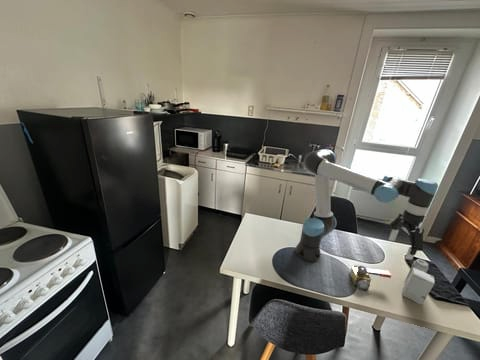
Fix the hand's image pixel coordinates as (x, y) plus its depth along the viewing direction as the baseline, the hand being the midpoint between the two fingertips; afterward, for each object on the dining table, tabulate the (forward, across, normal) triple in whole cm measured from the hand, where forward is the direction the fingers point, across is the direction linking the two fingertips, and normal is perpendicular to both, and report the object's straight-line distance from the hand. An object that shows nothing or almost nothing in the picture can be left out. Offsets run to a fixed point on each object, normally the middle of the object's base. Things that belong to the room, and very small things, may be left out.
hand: (399, 248), depth 101 cm
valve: (+24, 0, +13) cm, 27 cm away
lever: (+17, 0, +8) cm, 19 cm away
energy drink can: (+24, +3, -16) cm, 29 cm away
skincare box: (+24, -6, -10) cm, 27 cm away
